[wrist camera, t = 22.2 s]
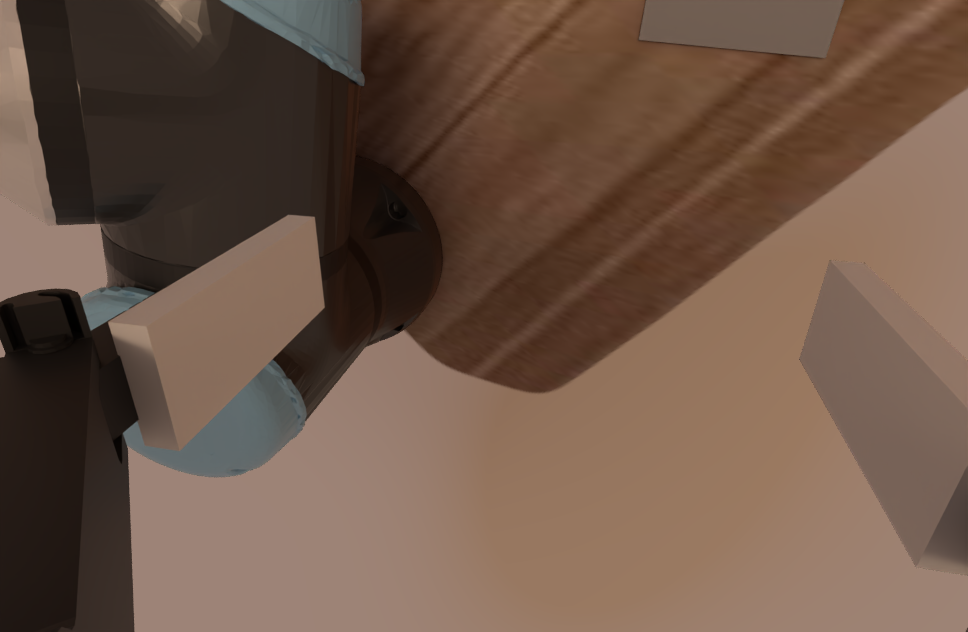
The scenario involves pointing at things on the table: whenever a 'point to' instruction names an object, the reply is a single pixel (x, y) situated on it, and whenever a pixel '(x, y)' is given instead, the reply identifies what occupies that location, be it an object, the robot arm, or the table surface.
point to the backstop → (744, 24)
